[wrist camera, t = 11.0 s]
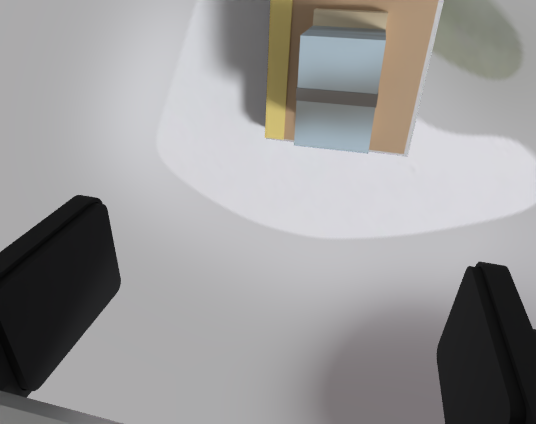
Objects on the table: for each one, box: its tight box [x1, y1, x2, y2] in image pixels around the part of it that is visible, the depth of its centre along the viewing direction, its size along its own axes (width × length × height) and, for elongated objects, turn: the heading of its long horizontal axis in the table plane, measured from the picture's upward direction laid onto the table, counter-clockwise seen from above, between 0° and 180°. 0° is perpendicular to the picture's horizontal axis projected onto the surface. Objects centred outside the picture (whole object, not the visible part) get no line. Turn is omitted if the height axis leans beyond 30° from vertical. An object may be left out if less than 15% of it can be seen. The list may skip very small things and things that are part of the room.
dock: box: [265, 0, 444, 156], centre depth 33 cm, size 12×12×3 cm
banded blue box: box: [294, 8, 388, 154], centre depth 29 cm, size 9×5×6 cm, turn 178°
